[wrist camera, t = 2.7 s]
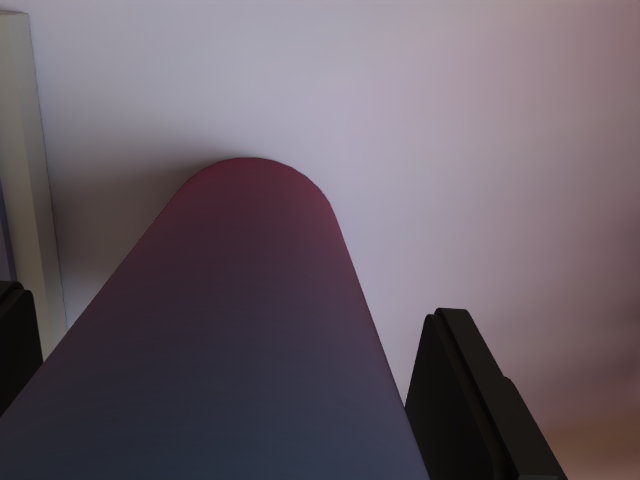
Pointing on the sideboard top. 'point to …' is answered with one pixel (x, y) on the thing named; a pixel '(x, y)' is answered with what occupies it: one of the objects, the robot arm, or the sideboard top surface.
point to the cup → (221, 352)
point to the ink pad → (26, 184)
